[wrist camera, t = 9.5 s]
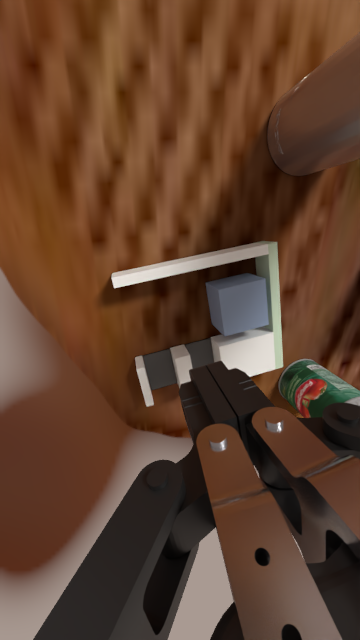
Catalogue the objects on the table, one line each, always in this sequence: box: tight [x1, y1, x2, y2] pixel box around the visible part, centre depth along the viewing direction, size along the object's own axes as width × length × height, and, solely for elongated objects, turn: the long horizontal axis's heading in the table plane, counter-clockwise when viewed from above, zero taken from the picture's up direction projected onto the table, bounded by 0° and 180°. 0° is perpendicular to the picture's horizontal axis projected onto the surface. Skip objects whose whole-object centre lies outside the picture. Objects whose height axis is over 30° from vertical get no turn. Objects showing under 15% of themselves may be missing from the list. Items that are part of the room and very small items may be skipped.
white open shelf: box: [111, 241, 283, 407], centre depth 35 cm, size 20×18×4 cm
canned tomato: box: [278, 359, 360, 418], centre depth 39 cm, size 8×8×11 cm
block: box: [206, 273, 269, 336], centre depth 34 cm, size 6×6×5 cm
